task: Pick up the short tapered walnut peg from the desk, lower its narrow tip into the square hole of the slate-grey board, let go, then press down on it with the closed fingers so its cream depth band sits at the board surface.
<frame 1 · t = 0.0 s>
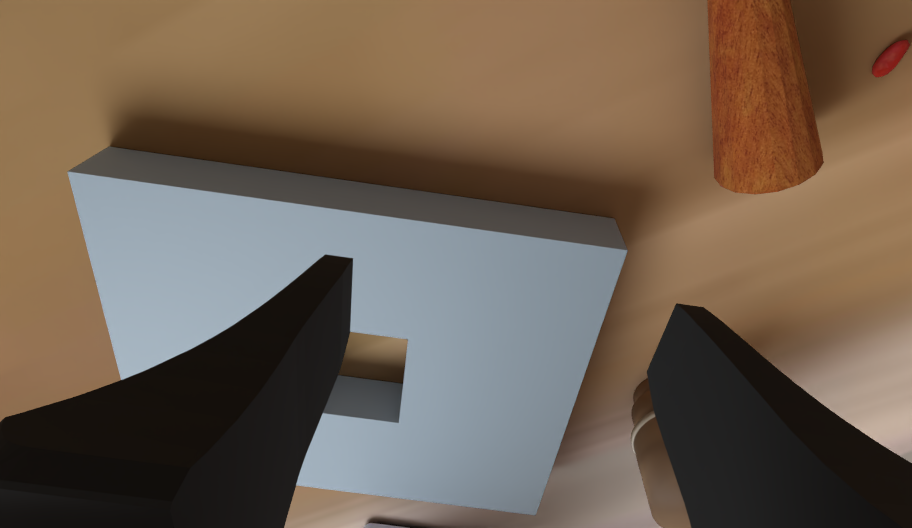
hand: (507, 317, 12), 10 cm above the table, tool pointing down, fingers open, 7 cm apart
socket board: (357, 338, 26), on the table
walnut peg: (662, 395, 27), on the table
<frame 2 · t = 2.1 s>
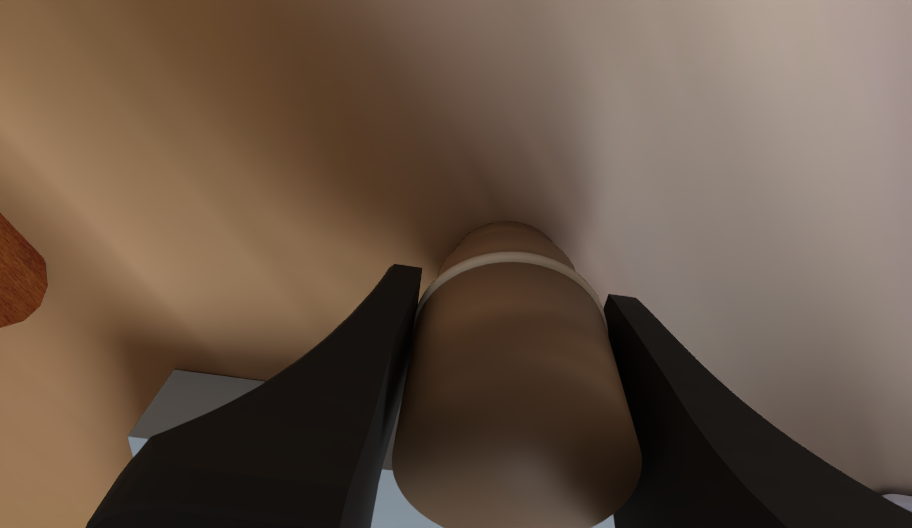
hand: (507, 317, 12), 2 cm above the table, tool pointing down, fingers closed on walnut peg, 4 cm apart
walnut peg: (505, 270, 14), on the table, touching gripper
when the fingers open (3 cm above the table, at t = 6.0 s): walnut peg drops 1 cm, resting in socket board.
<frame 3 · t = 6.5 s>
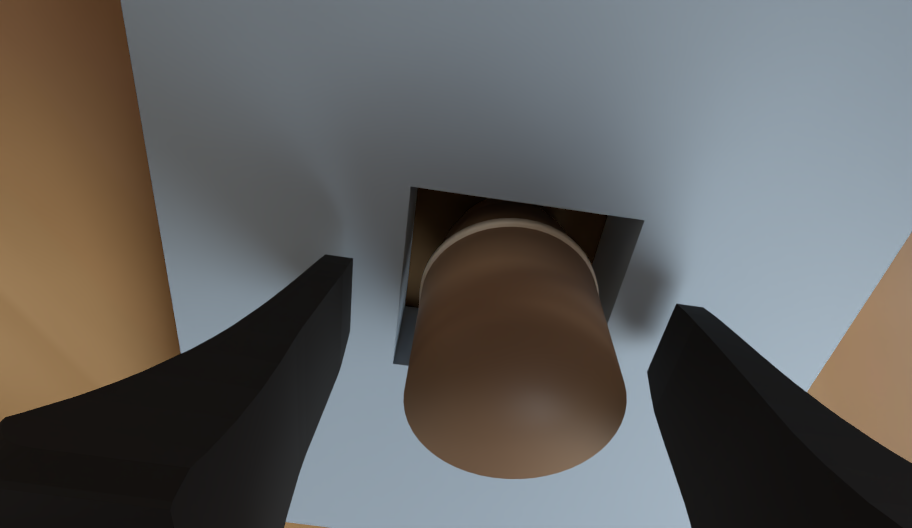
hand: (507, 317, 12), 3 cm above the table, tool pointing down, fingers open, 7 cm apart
socket board: (504, 245, 15), on the table
walnut peg: (504, 242, 15), resting in socket board
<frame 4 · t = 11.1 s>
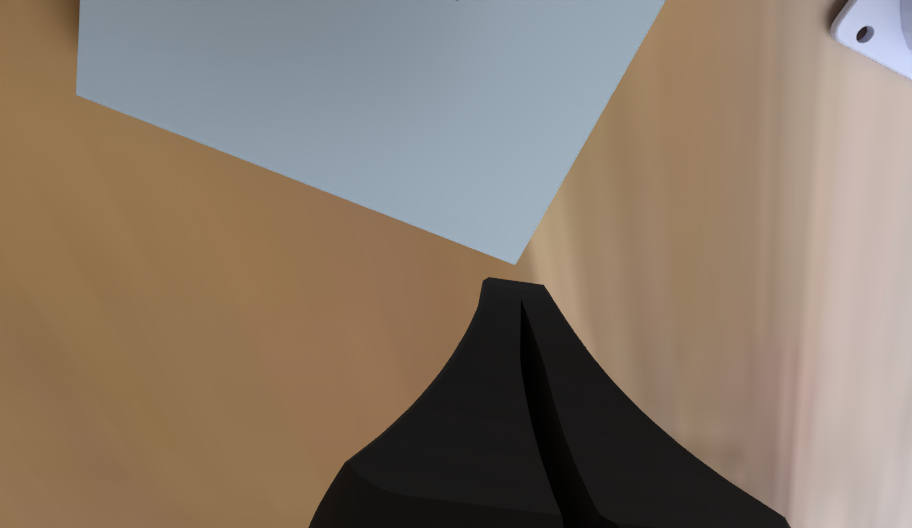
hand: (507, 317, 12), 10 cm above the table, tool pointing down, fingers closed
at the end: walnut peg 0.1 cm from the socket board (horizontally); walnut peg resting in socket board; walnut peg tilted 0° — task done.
